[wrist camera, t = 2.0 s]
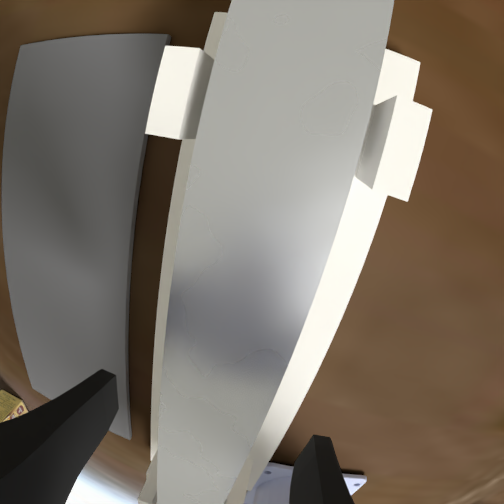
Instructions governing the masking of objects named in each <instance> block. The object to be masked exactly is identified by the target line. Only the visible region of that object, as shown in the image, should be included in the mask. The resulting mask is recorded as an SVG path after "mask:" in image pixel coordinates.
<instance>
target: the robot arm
mask: <svg viewBox="0 0 504 504" xmlns="http://www.w3.org/2000/svg"><path fill="white" fill-rule="evenodd" d="M118 410H119V404H118V392H117V378H116V375H115V374H113V373H111V372H108V371H106V370H104V369H100V370H98V371H97V372H96V373H94V374H93V375H91V376H90V377H88V378H87V379H85V380H84V381H82V382H81V383H79V384H77V385H76V386H74V387H73V388H71V389H70V390H68V391H66V392H65V393H63V394H61V395H60V396H58V397H56V398H55V399H53V400H51V401H49V402H47V403H45V404H44V405H42V406H40V407H38V408H36V409H34V410H32V411H30V412H27V413H25V414H23V415H20V416H18V417H15V418H13V419H10V420H7V421H4V422H1V423H0V504H65V503H66V500H67V498H68V496H69V494H70V492H71V489H72V487H73V485H74V483H75V481H76V479H77V477H78V475H79V474H80V472H81V470H82V469H83V467H84V466H85V464H86V463H87V461H88V460H89V458H90V457H91V455H92V454H93V452H94V451H95V449H96V448H97V447H98V445H99V444H100V442H101V441H102V439H103V438H104V436H105V435H106V433H107V431H108V430H109V428H110V426H111V424H112V422H113V420H114V418H115V416H116V414H117V412H118ZM366 481H367V478H366V476H364V475H354V474H343V473H342V472H341V469H340V466H339V463H338V460H337V457H336V454H335V451H334V447H333V444H332V441H331V439H330V437H325V436H319V435H313V436H312V438H311V439H310V441H309V442H308V444H307V445H306V446H305V448H304V449H303V451H302V452H301V454H300V455H299V457H298V458H297V459H296V461H295V463H294V467H293V466H287V465H282V464H277V463H272V462H268V464H267V466H266V467H265V469H264V471H263V472H262V474H261V476H260V477H259V479H258V480H257V482H256V484H255V485H254V487H253V488H252V490H251V491H247V493H246V496H245V501H244V504H354V502H353V499H352V497H351V495H352V494H353V493H354V492H356V491H357V490H358V489H359V488H360V487H361V486H362V485H363V484H364V483H365V482H366Z"/></svg>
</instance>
